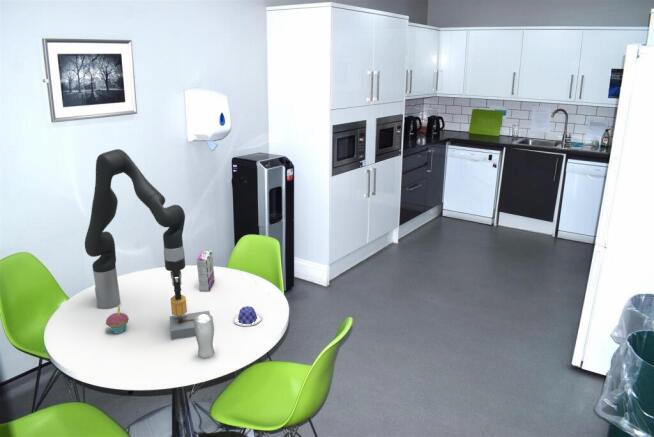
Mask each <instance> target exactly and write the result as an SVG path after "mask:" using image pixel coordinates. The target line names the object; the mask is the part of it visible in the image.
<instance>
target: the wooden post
mask: <svg viewBox="0 0 654 437" xmlns="http://www.w3.org/2000/svg"><path fill="white" fill-rule="evenodd" d="M177 320H178V323H182V322H183V317H182V315H179V316H177Z"/></svg>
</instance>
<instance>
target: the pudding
mask: <svg viewBox="0 0 654 437" xmlns="http://www.w3.org/2000/svg"><path fill="white" fill-rule="evenodd" d="M257 316H259V318H260V320H259V322H258V323H255V321H256V319H257ZM232 318H233V319H232V322H233V323H234V324H236V325H237V326H241V327H242V326H243V327H249V326H254V325H257V324H259V323H260V322H261V321H262V319H263V317H262V315H261V314H260V313H258V312H256V310H255V308H254V307H252V306H249V305H246V306H243V307H241V308H240V309H239V312H238V314H236V315H234V316H233V317H232ZM237 318H238V320H239V321H238V322H239V323H240V324H239V323H237V322H235V319H237ZM253 322H254V323H255V324H252V323H253ZM241 324H246V325H241ZM249 324H252V325H249Z"/></svg>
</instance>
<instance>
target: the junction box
mask: <svg viewBox="0 0 654 437" xmlns="http://www.w3.org/2000/svg"><path fill="white" fill-rule="evenodd" d="M201 314H209V315H211V312H210V310H204V311H203V310H202V311H198V312H197V311H196V312H191V313H189V312H188V313H185V314H184V315H182V317H183V322H182V323H178V320H177V316H175V315H171V316H169V327H170V338H171V341H172V340H173V341H174V340H180V339H186V338H192V337H196V336H195V330H194V318H195V317H196V316H198V315H201Z"/></svg>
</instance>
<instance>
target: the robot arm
mask: <svg viewBox="0 0 654 437" xmlns="http://www.w3.org/2000/svg"><path fill="white" fill-rule="evenodd" d="M123 173H124V174H125V175H127V177H128V178H130V180H131V182H132V185H133V190H134V192H135V193H134V194H135V195H136V197H137V198H138V199H139V200H140V202H142V203H143V205H145V206H146V207H147V208H148V209H149V211H150V213H151V214H152V216H153V218H154V219H155V221H156V223H157V224H158V225H159V226H161V227H163V228H167V229H166V230H165V231H164V232H163V234H162V240H163V256H164V257H163V258H164V259H163V260H164V268H165V270H166V271H168V272H170V279H171V284H172V286H173V292H174V295H175V299H176V300H180V299H181V295H182V293H181V292H182V287H181V286H182V285H183V284H182V283H183V282H182V277H183V276H182V270H184V269H185V267H186V258H185V257H186V256H185V255H186V254H185V248H184V241H183V232H184V228H185V221H186V214H185V210H184V209H183V207H182V206H181V205H178V204H172V205H170V206H167V207H164V205H165V203H166V197H165V196H164V195H163V194H162V193H161V192H160V191H159V190H158V189H157V188H156V187H155V186H154V185H152V184H151V183H150V181H149V180H148V179H147V178H146V177H145V174H143V173H142V171H141V170H140V169H139V167H138V166H137V165H136V163H135V162H134V161H133V159H132V158H131V157H130V156H129V154H128V153H127V152H125V151H124V150H122V149H119V148H118V149H112V150H109V151H106V152H102V153H100V154H99V155H97V158H96V161H95V183H94V192H93V199H92V206H91V212H90V213H91V214H90V219H89V223H88V227H87V228H88V229H87V230H86V235H85V239H84V249H85V253H87V255H88V256H89V257H91V258H94V257H95V258H96V257H98V258H97V259H96V260H95V261H94V262H93V263H92V273H93V279H94V280H93V281H94V292H95V298H96V299H95V300H96V306H97V309H112V308H116V307H118V306H120V304H121V295H120V289H119V288H120V287H119V280H118V272H117V265H116V263H117V256H116V242H115V239H114V236H113V234H112V233H111V232H110V231H105V229H106V228H107V227H108V226H109V225H110V224H111V222H112V221H113V220H114V219H115V217H116V213H117V209H118V201H119V200H118V197H117V195H116V192H114V190H113V188H112V179H113V177H114V176H117V175H120V174H123Z"/></svg>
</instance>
